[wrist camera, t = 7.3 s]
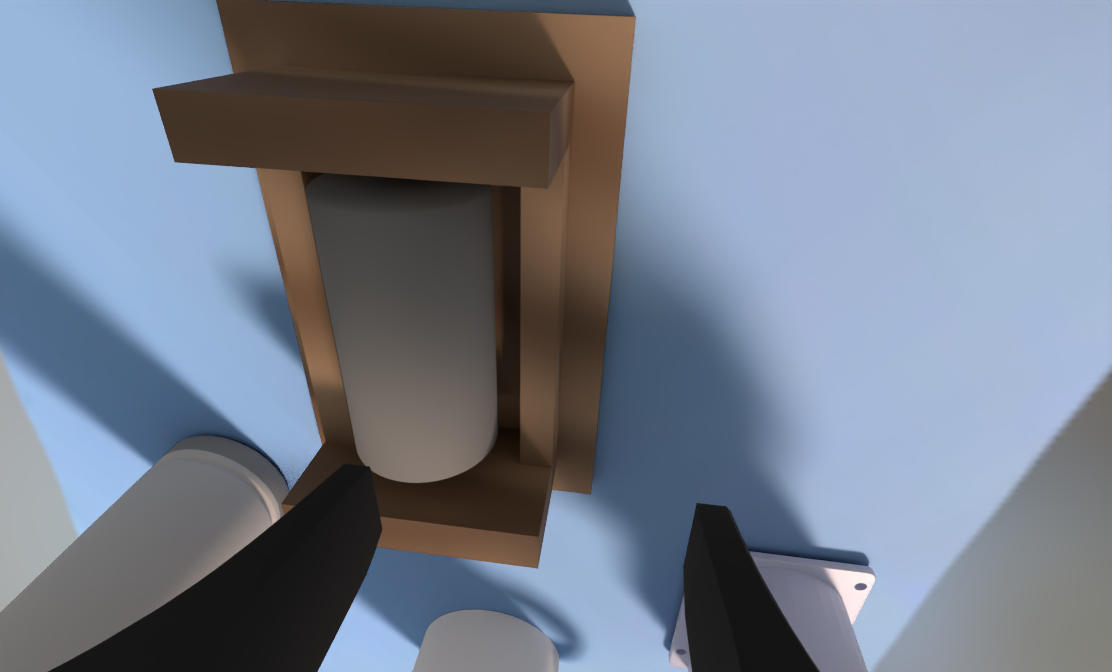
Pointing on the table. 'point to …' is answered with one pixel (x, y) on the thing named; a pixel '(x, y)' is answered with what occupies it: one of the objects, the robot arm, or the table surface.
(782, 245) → the table surface
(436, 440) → the roll
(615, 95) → the cradle
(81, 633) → the travel mug
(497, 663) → the mug
